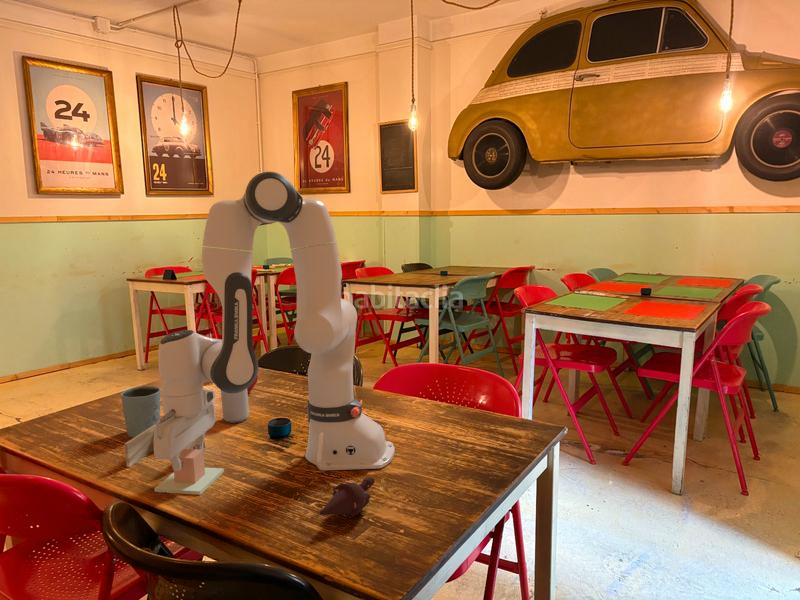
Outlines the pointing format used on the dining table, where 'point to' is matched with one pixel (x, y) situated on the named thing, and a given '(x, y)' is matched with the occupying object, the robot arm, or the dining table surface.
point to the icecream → (348, 498)
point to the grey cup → (140, 409)
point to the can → (235, 406)
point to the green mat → (190, 488)
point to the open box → (143, 446)
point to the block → (190, 466)
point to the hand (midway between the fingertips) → (188, 460)
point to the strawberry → (252, 385)
